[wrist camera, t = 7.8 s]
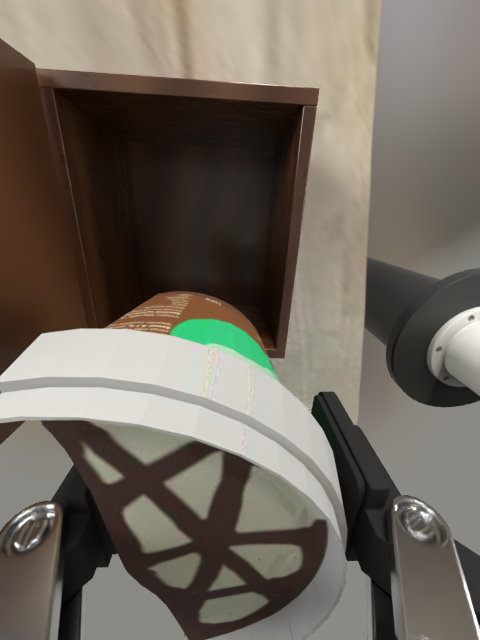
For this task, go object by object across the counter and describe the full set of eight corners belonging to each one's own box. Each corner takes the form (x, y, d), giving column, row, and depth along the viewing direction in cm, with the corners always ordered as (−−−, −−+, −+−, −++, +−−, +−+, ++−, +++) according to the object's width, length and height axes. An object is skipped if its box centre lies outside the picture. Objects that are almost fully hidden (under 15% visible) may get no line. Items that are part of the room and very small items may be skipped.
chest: (282, 143, 25) (319, 87, 14) (266, 309, 32) (284, 358, 21) (122, 133, 24) (33, 67, 14) (141, 305, 31) (91, 353, 20)
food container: (296, 424, 17) (372, 663, 8) (208, 440, 18) (185, 690, 8) (268, 240, 13) (374, 309, 3) (149, 265, 13) (-58, 395, 4)
